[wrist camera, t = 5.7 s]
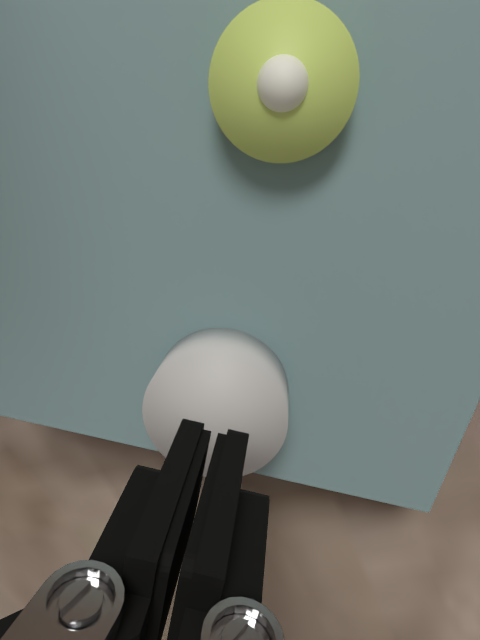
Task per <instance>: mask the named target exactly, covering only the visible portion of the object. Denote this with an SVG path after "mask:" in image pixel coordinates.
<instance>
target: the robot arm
mask: <svg viewBox="0 0 480 640" xmlns="http://www.w3.org/2000/svg"><path fill="white" fill-rule="evenodd" d="M210 437H211V431H209V430H204V423H201V422H196V421H192V420H188V419H182V421H181V423H180V426H179V428H178V431H177V433H176V435H175V438H174V440H173V442H172V445H171V447H170V450H169V452H168V454H167V457H166V459H165V462H164V464H163V466H162V469H161V470H157V469H153V468H148V467H144V466H140V465H138V466H136V468H135V469H134V471H133V473H132V475H131V477H130V479H129V481H128V483H127V485H126V487H125V489H124V491H123V493H122V495H121V497H120V499H119V501H118V503H117V505H116V507H115V509H114V511H113V513H112V515H111V517H110V519H109V521H108V523H107V525H106V527H105V529H104V531H103V533H102V535H101V537H100V539H99V541H98V543H97V545H96V547H95V549H94V551H93V553H92V555H91V557H90V559H89V560H79V561H76V562H73V563H70V564H67V565H65V566H63V567H61V568H60V569H58V570H56V571H55V572H54V573H53V574H52V575H51V576H50V577H49V578H48V579H47V580H46V581H45V582H44V583H43V584H42V586H41V587H40V588H39V590H38V591H37V592H36V594H35V595H34V596H33V597H32V599H31V600H30V601H29V603H28V604H27V605H26V607H25V608H24V609H22V610H20V611H18V612H16V613H13V614H11V615H9V616H7V617H5V618H3V619H1V620H0V640H161V638H162V635H163V631H164V627H165V624H166V620H167V616H168V613H169V609H170V605H171V602H172V598H173V595H174V591H175V587H176V584H177V580H178V576H179V573H180V576H179V580H178V585H177V591H176V596H175V601H174V606H173V611H172V616H171V622H170V627H169V632H168V637H167V640H285V639H284V635H283V632H282V628H281V626H280V624H279V622H278V621H277V619H276V617H275V616H274V615H273V614H272V613H271V612H270V611H269V610H268V609H267V608H266V606H264V605H262V604H261V603H262V590H263V577H264V564H265V552H266V539H267V526H268V513H269V496H267V495H263V494H259V493H254V492H250V491H246V490H242V489H240V487H241V481H242V475H243V469H244V463H245V457H246V451H247V445H248V439H249V434H248V433H244V432H240V431H235V430H231V429H228V431H227V435H226V434H222V433H218V435H217V438H216V442H215V446H214V449H213V453H212V457H211V460H210V464H209V467H208V471H207V475H206V478H205V482H204V486H203V489H202V493H201V497H200V500H199V504H198V507H197V502H198V497H199V492H200V487H201V482H202V477H203V472H204V467H205V462H206V457H207V452H208V447H209V442H210ZM196 507H197V511H196ZM195 512H196V515H195ZM194 517H195V518H194ZM193 521H194V522H193ZM192 525H193V526H192ZM189 536H190V537H189ZM183 558H184V559H183ZM182 562H183V563H182ZM181 565H182V567H181ZM180 569H181V571H180Z"/></svg>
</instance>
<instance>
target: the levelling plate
mask: <svg viewBox="0 0 480 640" xmlns="http://www.w3.org/2000/svg"><path fill="white" fill-rule="evenodd" d="M479 399H480V0H0V416H5V417H9V418H13V419H18V420H22V421H27V422H31V423H35V424H40V425H44V426H49V427H53V428H58V429H62V430H66V431H71V432H75V433H80V434H84V435H88V436H93V437H97V438H102V439H106V440H110V441H115V442H119V443H124V444H128V445H132V446H137V447H141V448H146V449H150V450H155V451H159V452H160V453H161V454H162V455H163V456H164V457H165V458H166V457H167V454H168V452H169V450H170V447H171V445H172V442H173V440H174V438H175V435H176V433H177V431H178V428H179V426H180V423H181V421H182V419H188V420H192V421H196V422H201V423H204V430H209V431H211V437H210V442H209V447H208V452H207V457H206V462H205V467H204V472H203V477H206V475H207V471H208V467H209V464H210V460H211V457H212V453H213V449H214V446H215V442H216V438H217V435H218V433H222V434H226V435H227V431H228V429H231V430H235V431H240V432H244V433H248V434H249V439H248V445H247V451H246V457H245V463H244V469H243V475H242V476H244V475H248V474H250V473H256V474H260V475H265V476H269V477H274V478H278V479H282V480H287V481H291V482H296V483H300V484H304V485H309V486H313V487H318V488H322V489H326V490H331V491H335V492H340V493H344V494H348V495H353V496H357V497H362V498H366V499H371V500H375V501H379V502H384V503H388V504H393V505H397V506H401V507H406V508H410V509H415V510H419V511H423V512H428V513H429V512H430V509H431V507H432V505H433V503H434V500H435V498H436V496H437V494H438V491H439V489H440V487H441V485H442V482H443V480H444V478H445V476H446V473H447V471H448V469H449V467H450V464H451V462H452V460H453V458H454V456H455V453H456V451H457V449H458V447H459V444H460V442H461V440H462V438H463V435H464V433H465V431H466V429H467V426H468V424H469V422H470V420H471V417H472V415H473V413H474V411H475V408H476V406H477V404H478V402H479Z"/></svg>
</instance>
